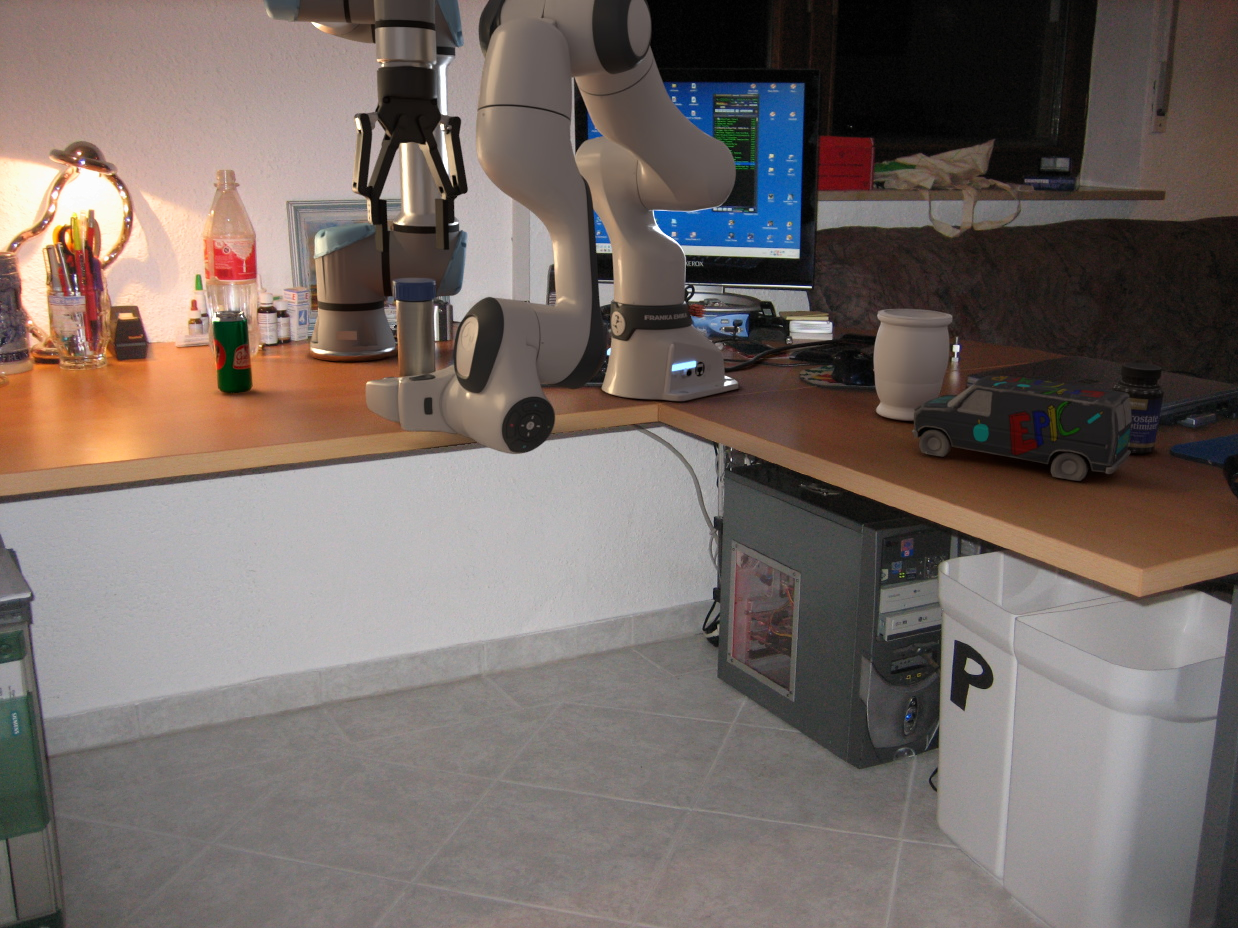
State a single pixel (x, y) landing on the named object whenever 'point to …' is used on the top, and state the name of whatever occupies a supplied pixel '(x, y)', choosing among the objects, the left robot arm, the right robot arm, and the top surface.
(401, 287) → the lid
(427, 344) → the metal bottle
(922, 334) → the jar
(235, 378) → the soda can
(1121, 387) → the pill bottle
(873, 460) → the top surface
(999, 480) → the top surface
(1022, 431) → the toy van
